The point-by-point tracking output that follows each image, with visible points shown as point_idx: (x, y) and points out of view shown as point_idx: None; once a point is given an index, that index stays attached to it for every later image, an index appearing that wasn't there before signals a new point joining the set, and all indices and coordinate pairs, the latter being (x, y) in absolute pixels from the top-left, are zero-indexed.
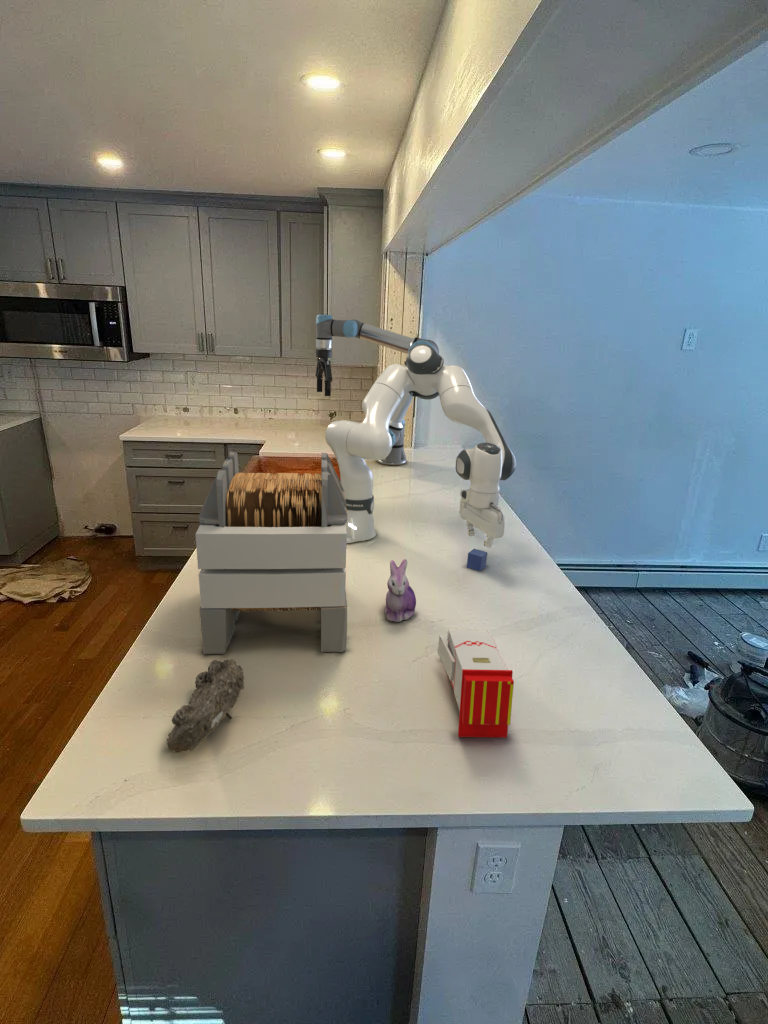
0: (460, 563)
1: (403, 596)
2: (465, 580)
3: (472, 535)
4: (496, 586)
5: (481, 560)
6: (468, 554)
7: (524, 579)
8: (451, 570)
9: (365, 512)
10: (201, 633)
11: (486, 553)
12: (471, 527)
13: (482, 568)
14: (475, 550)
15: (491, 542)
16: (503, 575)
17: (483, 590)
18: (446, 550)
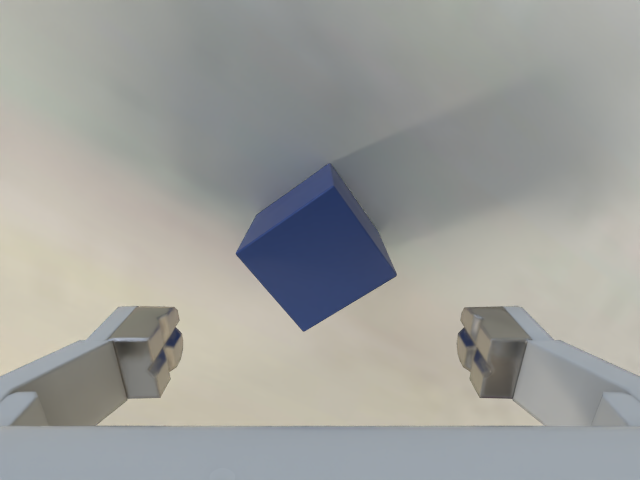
0: (248, 282)
1: None
2: (437, 350)
3: (174, 328)
4: (568, 245)
5: (391, 262)
6: (308, 324)
7: (603, 8)
8: (315, 359)
9: None
10: None
11: (346, 202)
12: (85, 388)
13: (362, 210)
14: (275, 261)
15: (548, 337)
16: (483, 123)
17: (563, 325)
18: (57, 273)
